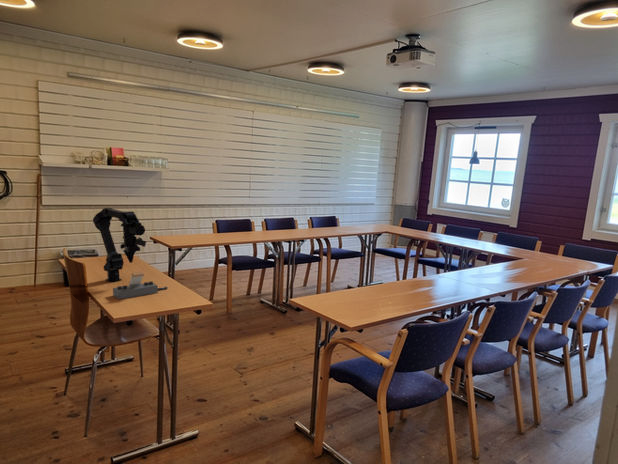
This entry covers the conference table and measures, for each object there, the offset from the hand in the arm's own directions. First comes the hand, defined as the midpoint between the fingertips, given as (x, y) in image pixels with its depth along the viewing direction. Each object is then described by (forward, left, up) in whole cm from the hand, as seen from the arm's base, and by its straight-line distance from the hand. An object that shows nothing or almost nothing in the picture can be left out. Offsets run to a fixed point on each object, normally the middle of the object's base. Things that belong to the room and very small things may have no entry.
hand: (131, 262), depth 237 cm
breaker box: (+16, -5, -13) cm, 21 cm away
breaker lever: (+14, -8, -8) cm, 18 cm away
